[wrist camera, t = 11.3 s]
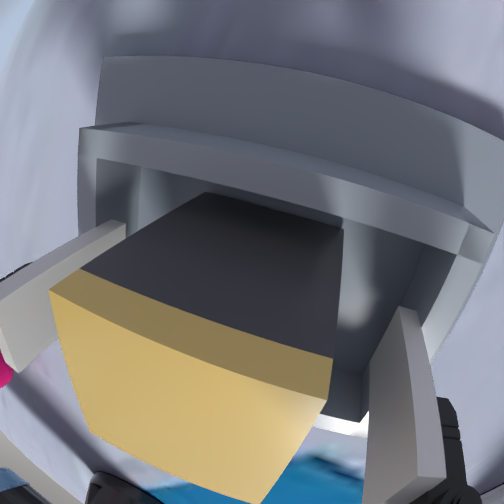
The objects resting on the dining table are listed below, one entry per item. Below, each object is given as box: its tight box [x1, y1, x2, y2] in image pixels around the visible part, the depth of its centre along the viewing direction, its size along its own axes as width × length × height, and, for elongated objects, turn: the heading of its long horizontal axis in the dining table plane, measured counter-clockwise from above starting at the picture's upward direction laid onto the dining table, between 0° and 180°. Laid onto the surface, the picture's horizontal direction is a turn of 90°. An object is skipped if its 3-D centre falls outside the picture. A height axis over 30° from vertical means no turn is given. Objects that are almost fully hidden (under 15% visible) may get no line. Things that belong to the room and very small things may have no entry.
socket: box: [77, 56, 504, 439], centre depth 13 cm, size 16×18×4 cm
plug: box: [48, 192, 344, 504], centre depth 10 cm, size 6×6×8 cm
